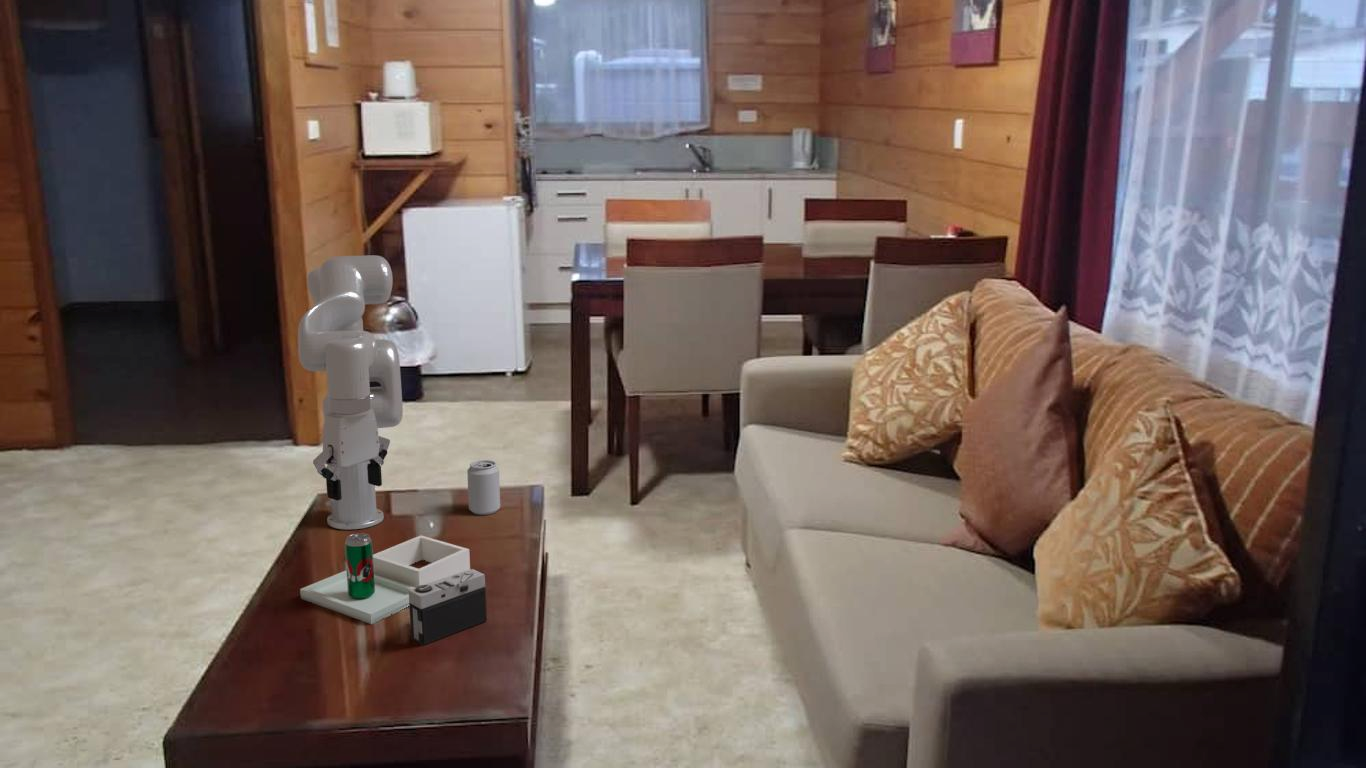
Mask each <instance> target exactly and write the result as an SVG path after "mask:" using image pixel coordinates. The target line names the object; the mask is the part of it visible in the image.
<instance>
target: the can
mask: <svg viewBox="0 0 1366 768" xmlns="http://www.w3.org/2000/svg"><path fill="white" fill-rule="evenodd" d="M466 473H467V493H468V494H467V496H468V498H467V499H468V509H469V511H471V512H472V513H473V514H475V515H480V516H487V515H492V514H495V513H497V511H498V510H499V509H500V508H501V492H500V491H501V488H500V487H501V486H500V484H501V483H500V468H499V467H498V466H497V462H496V461H495V460H491V459H490V460H489V459H488V460H487V459H481V460H474V461H472V462H470V463H469V468H468V469H467V472H466Z"/></svg>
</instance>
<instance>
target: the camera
mask: <svg viewBox="0 0 1366 768" xmlns="http://www.w3.org/2000/svg"><path fill="white" fill-rule="evenodd" d="M485 575H486V574H484V573H482V572H481V571H477V570H475V569H474V568H472V569H471V568H470V570H467V571H464V572H461V573H458V574H455V575H452V576H449V577H446V578H443V579H440V580H437V581H434V582H431V583H428V584H425V585H420V586H418V587H416V588H413V589H410V590H409V621H410V623H409V624H410V639H411V640H412V641H413V642H415V643H417V644H418V645H420V646H422V647H423V646H426V645H429V644H431V643H433V642H436V641H438V640H441V639H444V638H446V637H449V636H451V635H455V634H457V633H460V632H462V631H465V630H467V629H470V628H472V627H476V626H478V625H481V624H483V623H485V622H487V621H488V620H487V618H488V617H487V614H488V613H487V589H486V576H485Z"/></svg>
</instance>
